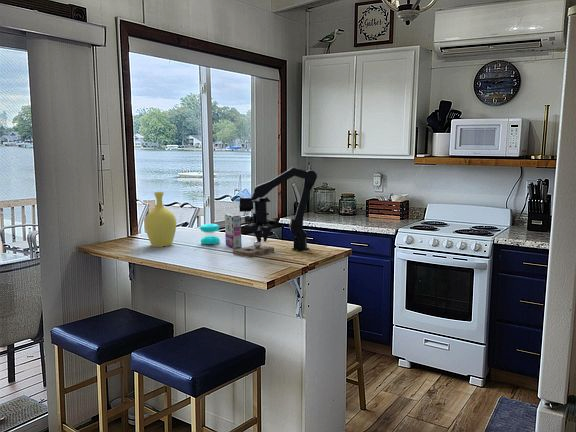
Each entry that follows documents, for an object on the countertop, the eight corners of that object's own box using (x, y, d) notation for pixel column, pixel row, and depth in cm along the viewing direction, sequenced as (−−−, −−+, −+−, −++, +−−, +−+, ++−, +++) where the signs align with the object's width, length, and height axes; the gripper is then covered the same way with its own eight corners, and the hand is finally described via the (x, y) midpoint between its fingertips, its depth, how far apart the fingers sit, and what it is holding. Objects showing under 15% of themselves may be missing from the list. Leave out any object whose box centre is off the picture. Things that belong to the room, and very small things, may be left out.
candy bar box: (242, 247, 253) (241, 215, 250) (233, 248, 250) (231, 216, 248) (234, 243, 263) (233, 213, 260) (225, 245, 260) (224, 213, 258)
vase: (139, 247, 259) (136, 193, 255) (157, 241, 274) (154, 190, 270) (166, 248, 254) (163, 194, 250) (183, 242, 269) (180, 190, 265)
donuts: (221, 223, 268) (215, 226, 258) (222, 241, 269) (216, 245, 260) (203, 223, 270) (197, 226, 260) (204, 241, 271) (198, 245, 261)
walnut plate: (256, 248, 250) (256, 244, 250) (274, 251, 242) (274, 247, 242) (232, 254, 238) (232, 250, 238) (250, 257, 230) (250, 253, 230)
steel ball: (258, 243, 245) (254, 238, 243) (263, 244, 242) (259, 239, 240) (254, 249, 243) (251, 244, 241) (259, 249, 241) (256, 244, 239)
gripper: (262, 206, 254) (263, 236, 256) (235, 212, 240) (236, 243, 243) (278, 208, 246) (279, 239, 249) (251, 214, 233) (252, 247, 235)
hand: (262, 242), depth 244 cm, fingers open, 3 cm apart
